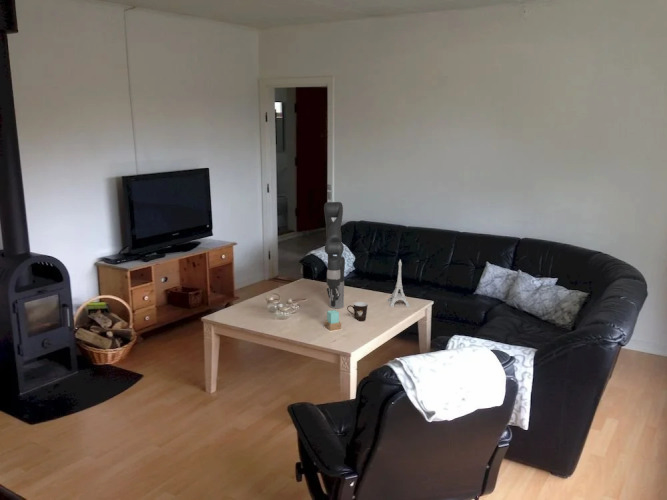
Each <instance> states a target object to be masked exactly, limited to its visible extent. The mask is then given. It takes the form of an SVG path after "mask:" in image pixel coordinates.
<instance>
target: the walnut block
mask: <svg viewBox="0 0 667 500" xmlns="http://www.w3.org/2000/svg"><path fill="white" fill-rule="evenodd" d="M324 327H325V328H326V329H328V330H329V331H332V332H336V331H335V330H338V331H342V330H341V329H342V322H341V321H339V323H333V324H331V323H329V322H328V321H327V320H324ZM325 328H324V329H325ZM328 330H327V331H328ZM329 331H328V332H329Z"/></svg>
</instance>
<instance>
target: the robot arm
mask: <svg viewBox="0 0 667 500" xmlns="http://www.w3.org/2000/svg"><path fill="white" fill-rule="evenodd" d="M323 211H324V212H323V213H324V220H325V231H326V235H325V236H326V242H325V246H324V252H325V254H326V255H327V271H326V285H327V288H326V292H327V295H328V300H329V301H328V305H329V307H330V308H332V309H342V308H343V307H344V306H345V305H344V304H345V303H344V302H345V301H344V298H345V294H344V293H345V266H346V258H345V257H344V256H343V253H344V250H345V248H344V244H343V243H342V242H343V241H342V231H341V228H342V224H343V223H342V222H343V215H344V205H343V203H342V202H341V201H329V202H325V203H324V206H323ZM332 218H333V219H334V218H335V220H334V221H333V219H332Z"/></svg>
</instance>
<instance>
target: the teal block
mask: <svg viewBox="0 0 667 500" xmlns="http://www.w3.org/2000/svg"><path fill="white" fill-rule="evenodd" d="M339 319H340V312H339V311H337V310H336V309H333V310H327V311H326V321H328V322H329V323H331V324H333V323H339V322H340V320H339Z"/></svg>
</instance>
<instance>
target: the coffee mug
mask: <svg viewBox="0 0 667 500" xmlns="http://www.w3.org/2000/svg"><path fill="white" fill-rule="evenodd" d="M368 305H369V304H368V303H367V302H364V301H356V302H353V305H348V306H347V309H346V310H347V311H348V312H349V313H350V314H351V315H352V316H354V319H355V320H356V321H357V322H365V321H366V317H367V313H368ZM349 307H351V308H352V309H353V312H352V311H350V310H349Z"/></svg>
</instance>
